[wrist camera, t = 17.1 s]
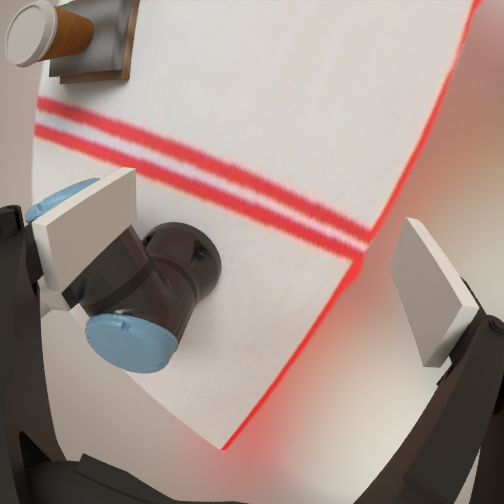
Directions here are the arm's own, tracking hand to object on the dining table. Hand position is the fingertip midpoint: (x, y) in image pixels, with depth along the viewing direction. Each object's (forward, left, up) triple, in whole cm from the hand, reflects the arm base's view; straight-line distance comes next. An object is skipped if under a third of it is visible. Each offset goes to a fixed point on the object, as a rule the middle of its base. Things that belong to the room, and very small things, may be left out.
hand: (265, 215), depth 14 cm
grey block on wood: (+14, +32, -32) cm, 48 cm away
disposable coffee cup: (+14, +33, -27) cm, 45 cm away
